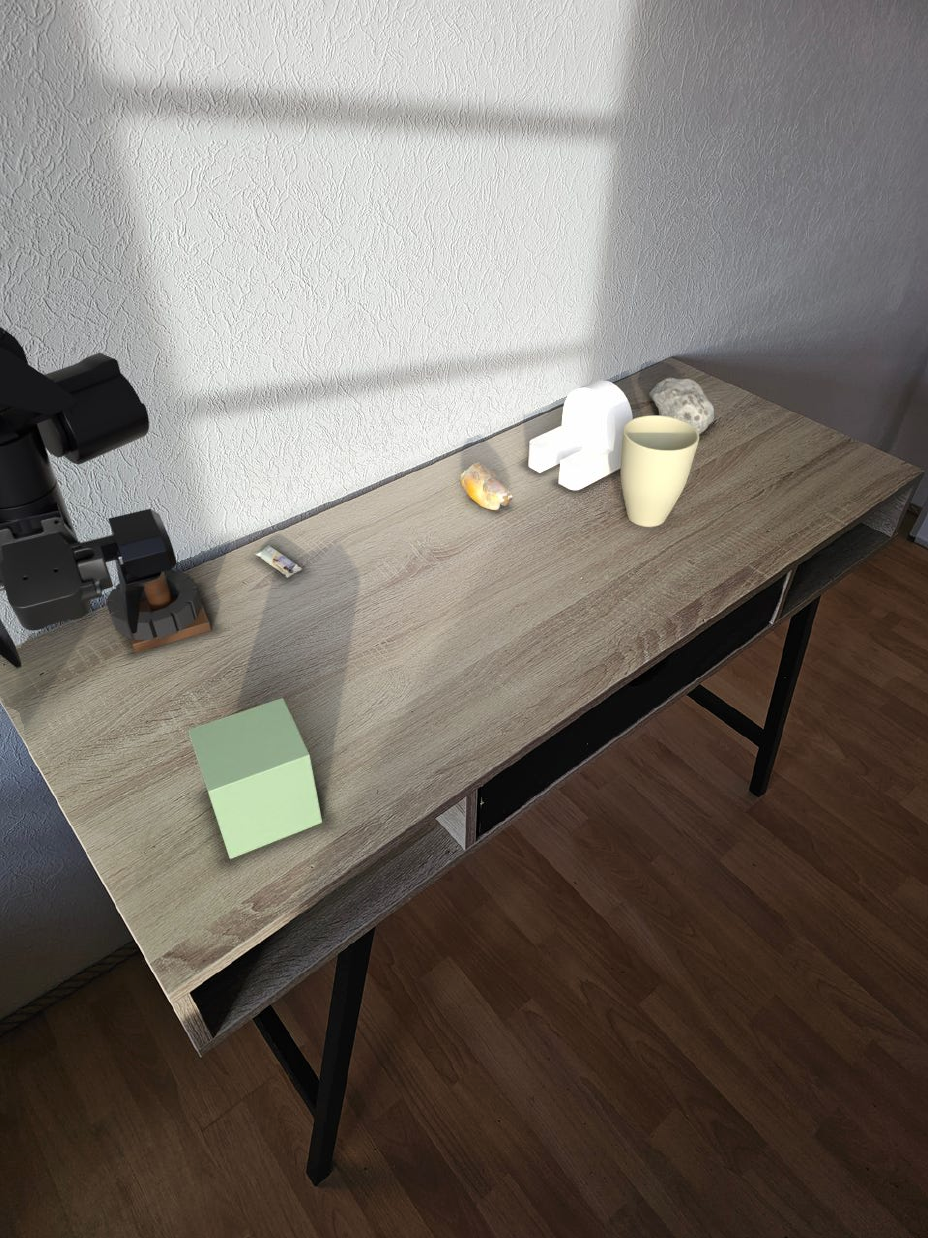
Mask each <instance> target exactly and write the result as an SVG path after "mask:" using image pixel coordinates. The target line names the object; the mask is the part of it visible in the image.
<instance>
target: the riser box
mask: <svg viewBox="0 0 928 1238" xmlns="http://www.w3.org/2000/svg"><path fill="white" fill-rule="evenodd" d="M187 732H188V735H189V738H190V739H189V740H190V742H191V745H192V748H193V751H194V753H195V757H196V760H197V763H198V766H199V770H200V773H201V775H202V779H203V781H204V785H205V788H206V791H207V794H208V797H209V800H210V804H211V806H212V809H213V813H214V815H215V818H216V821H217V824H218V828H219V830H220V833H221V837H222V840H223V842H224V846H225V848H226V852H227V854H228V858H229V859H230V860H232V859H234V858H237V857H239V856H241V855H244V854H247V853H250V852H252V851H254V850H258V849H259V848H262V847H264V846H268V845H269V844H272V843H275V842H278V841H280V840H282V839H284V838H288V837H291V835H292V836H293V835H295V834H297V833H300V832H302V831H306V830H307V829H310V828H313V827H315V826H317V825H320V824H322V823H323V819H322V814H321V808H320V802H319V797H318V792H317V786H316V781H315V776H314V770H313V765H312V760H311V759H312V758H311V755H310V753H309V750H308V748H307V746H306V744H305V741H304V739H303V737H302V735H301V733H300V731H299V728H298V726H297V724H296V722H295V720H294V718H293V715H292V713H291V711H290V709H289V707H288V705H287V703H286V701H285V699H284V697H281V698H277V699H275V700H272V701H269V702H266V703H263V704H259V705H257V706H254V707H251V708H248V709H245V710H242V711H239V712H236V713H233V714H229V715H226V716H224V717H222V718H221V717H220V718H218V719H215V720H212V721H209V722H206V723H203V724H201V725H197V726H194V727H192V728H188V729H187Z"/></svg>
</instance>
